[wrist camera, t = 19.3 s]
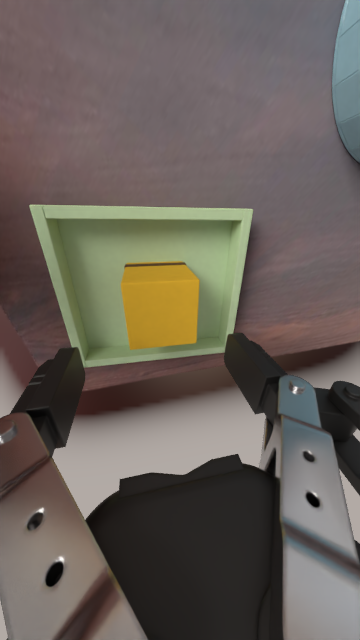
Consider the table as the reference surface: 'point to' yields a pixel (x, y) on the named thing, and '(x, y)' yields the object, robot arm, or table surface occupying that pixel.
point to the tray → (135, 247)
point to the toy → (160, 304)
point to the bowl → (348, 78)
